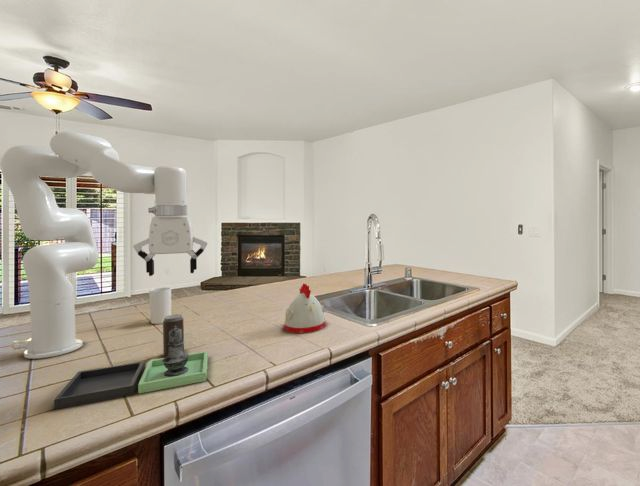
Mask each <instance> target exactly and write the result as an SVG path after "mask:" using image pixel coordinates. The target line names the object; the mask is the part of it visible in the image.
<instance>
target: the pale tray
mask: <svg viewBox="0 0 640 486" xmlns="http://www.w3.org/2000/svg"><path fill="white" fill-rule="evenodd" d="M188 354H189V358H188V361H187V363H186V365H185V366H184V367H187V368H188V371H187V372H186V373H184V374H182V375H178V376H173V377H167V376H164V373H165V372H166V371H167V370H168V369H167V368H165V366H164V363H163V362H162V360H163V359H164V358H165V357H161V358H154V359H150V360H148V362H147V364H146V366H145V370H144V372H143V375H142V377H141V379H140V381H139V383H138V386H137V391H138V394H145V393H149V392H154V391H159V390H165V389H170V388H176V387H181V386H187V385H191V384H196V383H201V382H206V381H207V374H208V361H209V352H208V350H206V351H200V352H194V353H188Z"/></svg>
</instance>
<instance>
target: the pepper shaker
mask: <svg viewBox="0 0 640 486" xmlns="http://www.w3.org/2000/svg"><path fill="white" fill-rule="evenodd" d="M175 325H176V326H177V327H176V328H179V329H181V330H182V341H184V343H183V344H182V345H183V352H184V353H185V332H184V330H185V329H184V327H185V326H184V325H185V324H184V317H183V315H182V314H180V313H179V314H178V313H176V314H175V313H174V314H171V315H169V316H166V317H164V321H163V323H162V339H163V342H162V343H163V344H162V345H163V346H162V348H163V358H165V357H167V356H168V354H169V346H168V345H167V344H168V343H169V332H170V330H172V329H173V328H174V326H175Z"/></svg>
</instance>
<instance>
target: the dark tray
mask: <svg viewBox="0 0 640 486" xmlns="http://www.w3.org/2000/svg"><path fill="white" fill-rule="evenodd" d="M145 369H146V360H144V361H143V360H142V361H137V362H129V363H123V364H117V365H112V366H105V367H98V368H93V369H85V370H81V371H77V373H76V374H74V376H73V377H72V378H71V379H70V380H69V382H68V383H66V385H65V387H64V388H63V389H62V390H61V391H60V392H59V393H58V395H57V396H56V397H55V398H54V399H53V406H54V407H53V408H54V410H59V409H64V408H69V407H75V406H80V405H86V404H90V403H96V402H101V401H106V400H111V399H112V400H113V399H117V398H122V397H127V396H133V395H134V394H135V392H136V389H138V384H139V382H140V380H141V378H142V375H143V373H144V371H145Z"/></svg>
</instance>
